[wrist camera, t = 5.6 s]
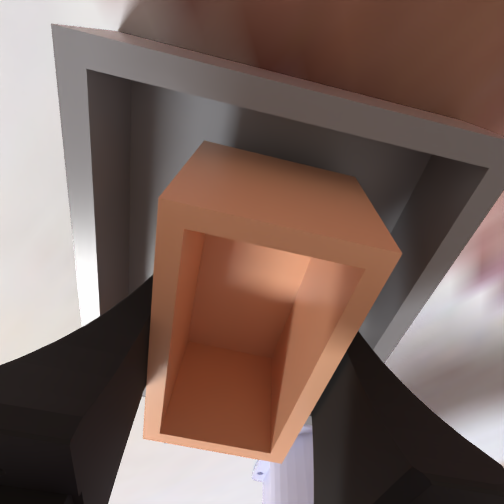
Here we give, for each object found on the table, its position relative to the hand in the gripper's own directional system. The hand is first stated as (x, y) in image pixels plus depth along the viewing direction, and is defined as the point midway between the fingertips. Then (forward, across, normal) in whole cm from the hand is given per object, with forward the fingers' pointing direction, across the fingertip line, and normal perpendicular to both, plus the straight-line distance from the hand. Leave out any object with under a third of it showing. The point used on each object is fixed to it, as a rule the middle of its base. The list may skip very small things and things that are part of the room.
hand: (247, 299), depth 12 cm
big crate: (+4, 0, 0) cm, 4 cm away
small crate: (+2, 0, 0) cm, 2 cm away
